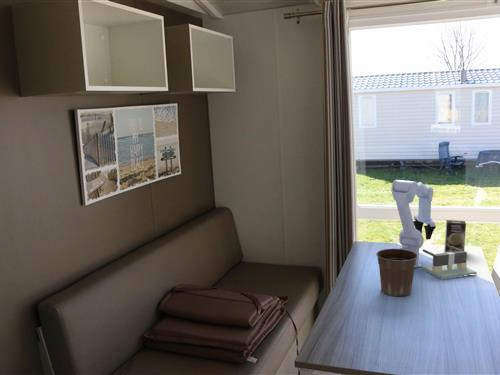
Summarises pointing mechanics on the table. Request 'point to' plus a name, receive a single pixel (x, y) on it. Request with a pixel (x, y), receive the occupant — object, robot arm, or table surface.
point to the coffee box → (455, 235)
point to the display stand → (449, 270)
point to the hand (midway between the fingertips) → (423, 237)
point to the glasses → (448, 257)
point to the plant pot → (396, 271)
